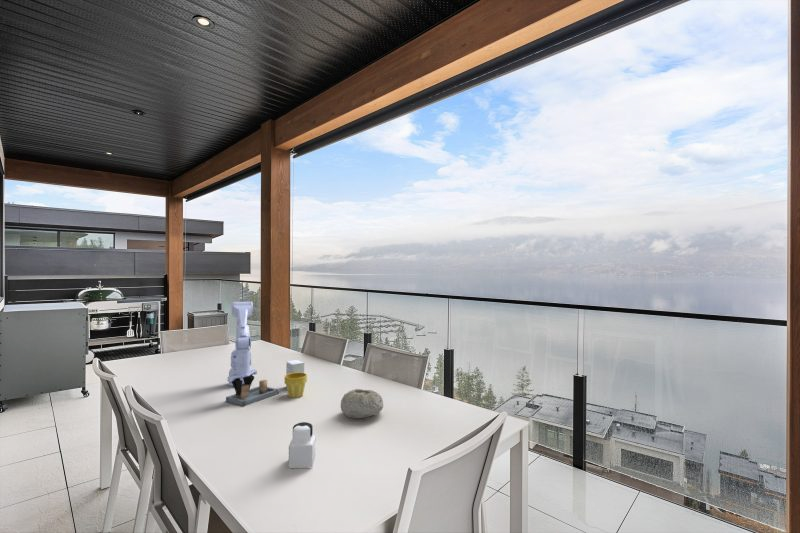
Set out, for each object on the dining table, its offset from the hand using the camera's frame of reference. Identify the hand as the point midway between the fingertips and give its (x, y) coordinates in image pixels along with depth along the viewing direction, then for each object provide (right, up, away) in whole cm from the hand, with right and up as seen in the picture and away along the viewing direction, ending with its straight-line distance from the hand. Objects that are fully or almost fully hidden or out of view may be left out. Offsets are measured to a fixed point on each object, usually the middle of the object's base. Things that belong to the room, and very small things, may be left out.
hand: (242, 393), depth 175 cm
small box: (+18, -4, +21) cm, 28 cm away
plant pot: (+22, -4, +9) cm, 24 cm away
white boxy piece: (+41, -4, -54) cm, 68 cm away
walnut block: (0, -2, 0) cm, 2 cm away
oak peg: (+6, -3, +11) cm, 12 cm away
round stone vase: (+56, -4, -15) cm, 58 cm away
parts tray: (+3, -4, +5) cm, 7 cm away
